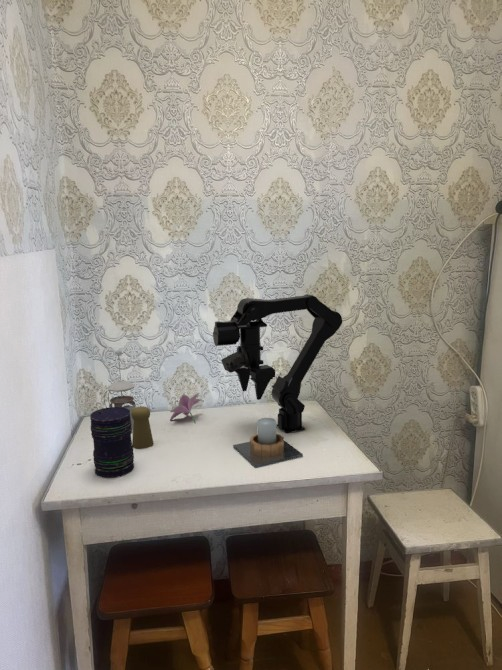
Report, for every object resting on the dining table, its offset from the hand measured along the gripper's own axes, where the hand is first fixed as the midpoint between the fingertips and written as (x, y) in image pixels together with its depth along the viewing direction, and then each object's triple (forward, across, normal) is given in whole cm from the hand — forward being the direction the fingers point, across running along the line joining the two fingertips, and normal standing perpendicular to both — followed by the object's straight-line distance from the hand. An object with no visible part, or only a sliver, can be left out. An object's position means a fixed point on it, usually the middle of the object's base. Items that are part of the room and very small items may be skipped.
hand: (251, 395), depth 147 cm
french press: (+12, -24, -33) cm, 42 cm away
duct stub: (+11, +13, -2) cm, 17 cm away
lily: (+12, -21, -13) cm, 27 cm away
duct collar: (+12, +13, -2) cm, 18 cm away
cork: (+12, -9, -31) cm, 34 cm away
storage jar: (+12, +3, -41) cm, 43 cm away
